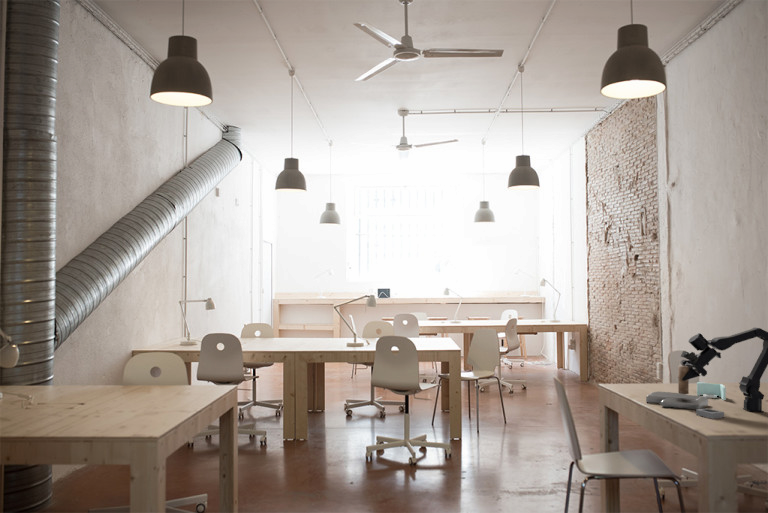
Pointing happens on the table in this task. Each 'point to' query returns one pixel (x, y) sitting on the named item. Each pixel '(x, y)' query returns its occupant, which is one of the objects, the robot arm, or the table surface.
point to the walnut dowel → (682, 385)
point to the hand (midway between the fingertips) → (680, 379)
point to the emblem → (677, 400)
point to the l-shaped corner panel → (711, 390)
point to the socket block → (710, 413)
